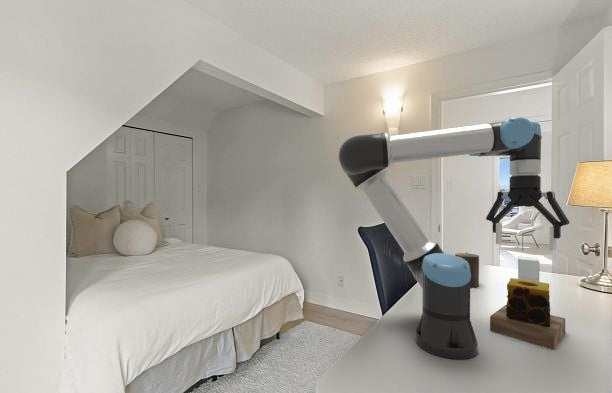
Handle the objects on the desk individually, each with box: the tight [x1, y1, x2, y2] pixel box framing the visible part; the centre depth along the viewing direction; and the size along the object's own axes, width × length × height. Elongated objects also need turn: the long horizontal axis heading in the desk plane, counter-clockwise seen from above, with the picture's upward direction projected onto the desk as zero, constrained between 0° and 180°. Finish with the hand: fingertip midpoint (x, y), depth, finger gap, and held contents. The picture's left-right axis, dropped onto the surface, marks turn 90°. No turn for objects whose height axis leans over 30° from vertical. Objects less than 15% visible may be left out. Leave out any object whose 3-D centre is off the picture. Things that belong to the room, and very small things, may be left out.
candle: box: [506, 277, 551, 327], centre depth 89 cm, size 10×10×10 cm
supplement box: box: [517, 256, 540, 282], centre depth 135 cm, size 7×7×13 cm
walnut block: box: [489, 304, 566, 350], centre depth 90 cm, size 15×15×5 cm
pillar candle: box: [454, 252, 480, 289], centre depth 137 cm, size 10×10×15 cm
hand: (524, 246), depth 90 cm, fingers open, 13 cm apart
